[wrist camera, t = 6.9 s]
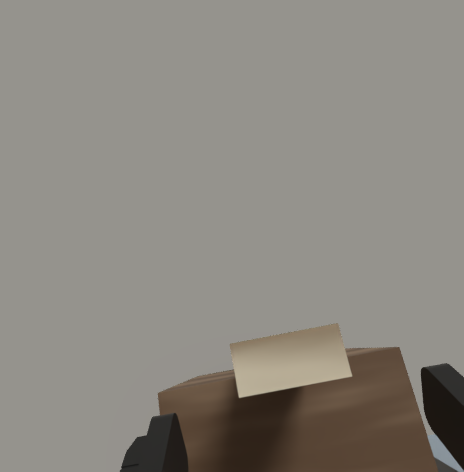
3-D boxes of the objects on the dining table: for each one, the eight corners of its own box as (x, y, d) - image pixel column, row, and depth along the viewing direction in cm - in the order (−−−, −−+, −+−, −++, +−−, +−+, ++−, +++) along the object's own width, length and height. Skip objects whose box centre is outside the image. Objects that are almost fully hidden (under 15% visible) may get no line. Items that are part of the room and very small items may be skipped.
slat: (352, 376, 11) (338, 323, 11) (238, 398, 11) (229, 343, 11) (288, 359, 34) (284, 341, 34) (251, 366, 34) (248, 348, 34)
